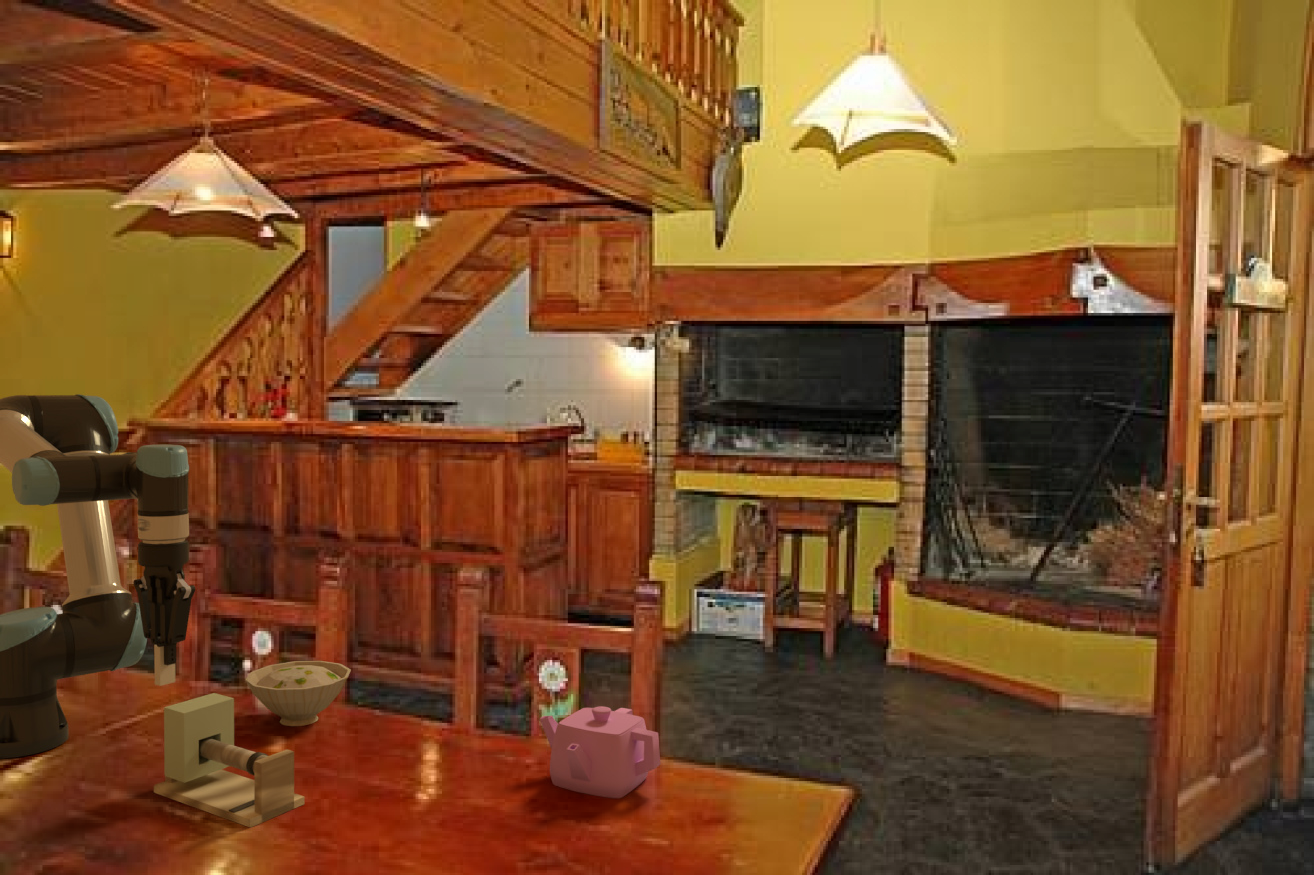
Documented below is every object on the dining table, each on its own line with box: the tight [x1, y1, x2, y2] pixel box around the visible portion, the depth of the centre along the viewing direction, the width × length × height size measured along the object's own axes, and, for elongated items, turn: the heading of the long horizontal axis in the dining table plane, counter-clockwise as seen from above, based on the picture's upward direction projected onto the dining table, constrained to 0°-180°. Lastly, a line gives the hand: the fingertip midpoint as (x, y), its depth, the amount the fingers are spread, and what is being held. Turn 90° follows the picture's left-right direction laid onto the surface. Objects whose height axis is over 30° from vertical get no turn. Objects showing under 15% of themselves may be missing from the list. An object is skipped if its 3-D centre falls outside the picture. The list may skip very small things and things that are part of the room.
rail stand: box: [153, 738, 305, 828], centre depth 164 cm, size 23×10×9 cm, turn 60°
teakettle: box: [539, 705, 661, 799], centre depth 174 cm, size 17×17×12 cm
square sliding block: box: [163, 692, 235, 783], centre depth 167 cm, size 5×9×11 cm, turn 150°
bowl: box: [245, 660, 352, 727], centre depth 200 cm, size 19×19×10 cm
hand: (165, 683), depth 171 cm, fingers closed
